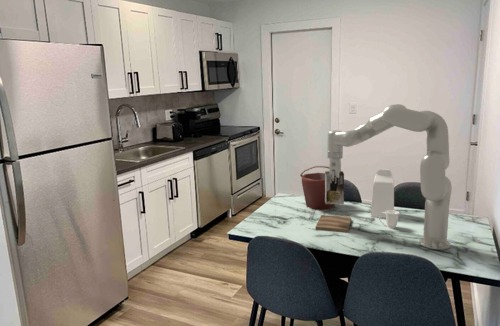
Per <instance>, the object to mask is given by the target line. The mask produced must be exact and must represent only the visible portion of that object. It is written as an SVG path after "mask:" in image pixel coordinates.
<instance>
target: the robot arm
mask: <svg viewBox="0 0 500 326" xmlns="http://www.w3.org/2000/svg"><path fill="white" fill-rule="evenodd" d="M393 127H397V128H401V129H404V130H407V131H411V132H416V133H422V132H424V131H425V132H426V154H425V155H424V156H423V157H421V161H420V166H419V168H420V169H419V171H420V172H419V173H420V177H419V178H420V192H421V195H422V196H423V198H425V202H424V218H423V220H424V222H423V235H422V238H420V239H419V241H418V243H419V245H421V246H422V247H424V248H427V249H431V250H436V251H437V250H439V251H442V250H444V251H445V250H448V249H450V248H451V245H452V244H451V243H450V242H449V241H448V229H449V216H450V204H451V203H450V202H451V194H452V191H453V190H452V188H453V187H452V182H451V180H450V179H449V178H448V176H446V170H447V169H448V168H449V167H450V144H449V143H450V142H449V139H450V138H449V129H448V128H449V127H448V125H447V122H446V121H445V119H444V118H443V117H442V116H441V115H440V114H439V113H436V112H434V111H431V110H422V111H419V110H413V109H410V108H407V107H406V105H403V104H398V103H397V104H391V105H388V106H386V107H385V109H384V110H383V111H381V112H378V113H377V114H375V115H373V116H371V117H370V118H368V121H366V123H364V124H362V125H360V126H359V127H357V128H355V129H351V130H346V131H342V130H329V131H328V133H327V157H326V158H327V159H329V166H328V167H329V168H328V171H329V173H330V178H331V183H330V191H337V183H336V181H337V177H338V178H340V172H341V171H342V162H341V161H342V159H343V156H344V155H343V154H344V153H343V152H344V151H343V150H344V147H345V148H346V147H347V148H348V147H352V146H356V145H359V144H361V143H363V142H365V141H367V140H369V139H371V138H373V137H375V136H378V135H379V134H382V133H383V132H385V131H387V130H388V131H389V130H390V129H391V128H393ZM334 176H336V177H334Z"/></svg>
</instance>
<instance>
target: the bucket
mask: <svg viewBox="0 0 500 326" xmlns="http://www.w3.org/2000/svg"><path fill="white" fill-rule="evenodd" d="M329 167H330V166H328V165H327V166H326V165H314V166H311V167H307V168H306V169H304V170H303V171H302V172H301V173H300V177H301V184H302V185H301V187H302V190H303V191H302V192H303V195H304V196H303V197H304V201H305V207H306V208H308V207H309V209H311V208H312V210H314V209H315V211H316V210H317V211H321V210H322V211H326V210H327V211H329V210H330V209H333V208H335V206H336V204H326V202H325V172H314V173H305V172H307V171H309V170H312V169H315V168H323V169H325V168H326V169H329Z"/></svg>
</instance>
